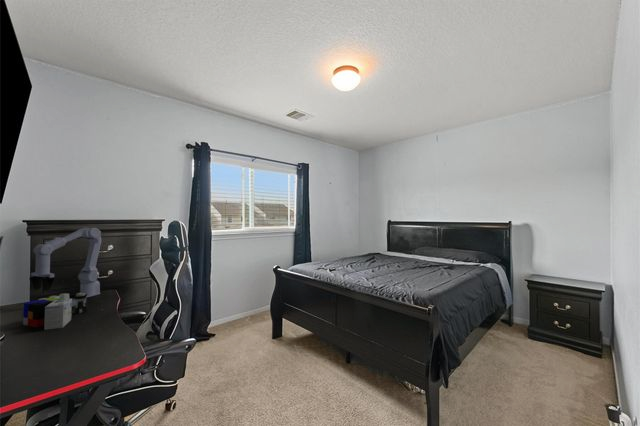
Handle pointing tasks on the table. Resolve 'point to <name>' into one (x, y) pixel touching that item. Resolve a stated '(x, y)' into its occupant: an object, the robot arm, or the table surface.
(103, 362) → the table surface
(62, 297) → the grey block
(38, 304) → the puzzle toy
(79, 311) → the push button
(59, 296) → the gray block
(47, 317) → the light bulb box
